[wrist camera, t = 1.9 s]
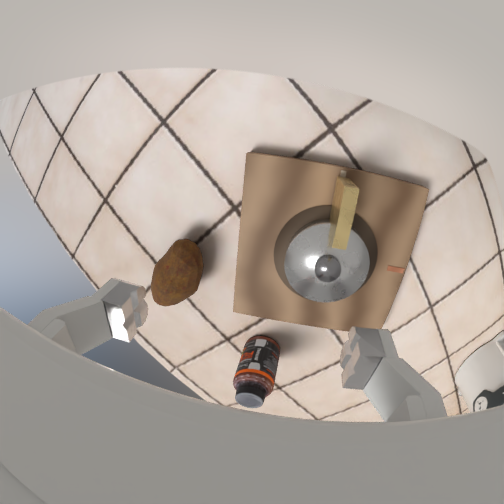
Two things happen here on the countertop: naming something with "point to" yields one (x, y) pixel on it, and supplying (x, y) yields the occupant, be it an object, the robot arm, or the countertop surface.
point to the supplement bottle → (256, 371)
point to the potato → (177, 273)
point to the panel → (312, 209)
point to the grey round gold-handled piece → (329, 251)
